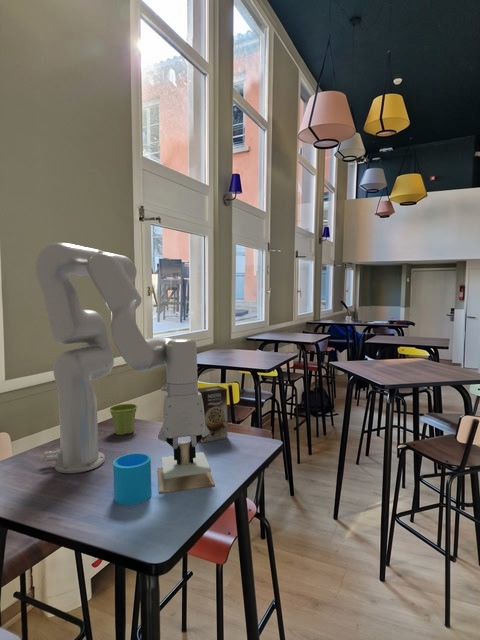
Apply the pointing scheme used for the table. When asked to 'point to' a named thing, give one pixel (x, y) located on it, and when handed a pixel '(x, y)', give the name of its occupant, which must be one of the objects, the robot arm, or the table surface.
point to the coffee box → (215, 412)
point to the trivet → (183, 482)
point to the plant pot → (123, 418)
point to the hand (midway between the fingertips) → (184, 461)
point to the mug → (132, 478)
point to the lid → (184, 463)
